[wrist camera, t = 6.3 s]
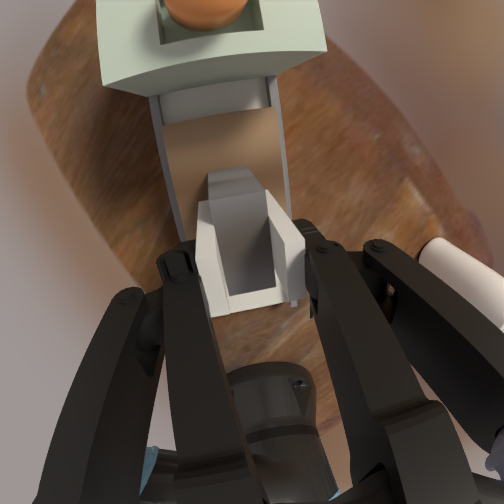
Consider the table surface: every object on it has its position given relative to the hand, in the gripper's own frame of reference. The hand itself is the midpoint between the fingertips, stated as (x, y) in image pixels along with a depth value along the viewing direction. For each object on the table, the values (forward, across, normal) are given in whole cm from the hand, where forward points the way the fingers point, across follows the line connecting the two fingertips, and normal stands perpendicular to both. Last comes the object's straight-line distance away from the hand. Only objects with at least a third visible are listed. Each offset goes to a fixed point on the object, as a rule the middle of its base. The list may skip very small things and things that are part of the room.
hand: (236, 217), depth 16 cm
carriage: (+5, 0, -1) cm, 5 cm away
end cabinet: (+7, 0, -11) cm, 13 cm away
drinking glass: (+7, -24, +12) cm, 27 cm away
